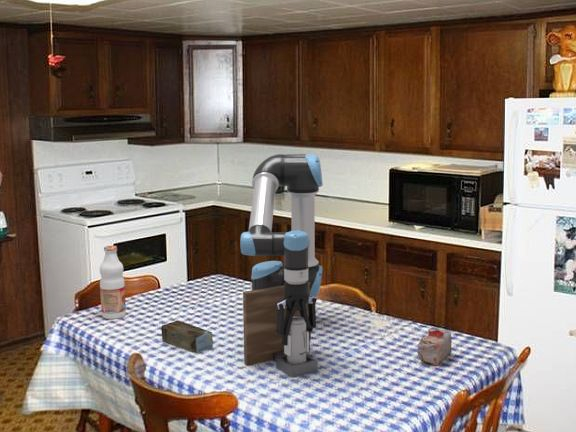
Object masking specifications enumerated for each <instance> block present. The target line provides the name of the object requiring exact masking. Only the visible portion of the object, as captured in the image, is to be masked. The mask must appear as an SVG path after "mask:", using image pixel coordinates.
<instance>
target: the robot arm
mask: <svg viewBox="0 0 576 432" xmlns="http://www.w3.org/2000/svg"><path fill="white" fill-rule="evenodd" d="M320 160H321V159H320V157H319V156H318V155H317V154H308V153H299V154H297V153H294V154H293V153H292V154H289V153H287V154H283V153H282V154H281V153H279V154H274V155H270V156H268V157H267V158H265V159H264V160H263V161H262V162H261V163H260V164H259V165H257V167H256V169H255V171H253V175H252V180H251V181H252V183H251V185H252V187H253V194H252V195H253V196H252V201H251V202H252V203H251V211H250V217H249V225H248V231H244V232H242V233H241V234H240V242H239V243H240V245H239V246H240V253H241V254H242V255H244V256H253V257H255V256H256V257H257V256H260V257H261V256H265V257H266V256H275V257H276V256H279V257H282V256H283V257H284V258H283V259H284V265H283V262H282V261H281V260H270V261H269V260H268V261H262V262H259V263H257V264H255V265H254V266H252V269H251V277H250V278H251V291H252V290H258V289H265V288H271V287H277V286H283V285H284V293H285V298H284V301H282V302H280V303H279V302H277V303H276V307H277V326H276V332H277V333H279V334H280V335H282V344H283V345H284V353H285V354H286V355H288V356H291V335H289V330H290V326H291V322H292V319H293V315H294V314H295V311H298V310H299V311H300V315H301V317H303V318H304V320H305V322H306V353H310V352H309V340H310V341H311V340H312V332H314V329H316V328H317V315H316V310H317V309H316V304H317V298H316V297H317V296H318V295H319V294H320V290H321V285H322V284H321V283H322V277H323V266H322V265H319V263H320V261H319V260H318V259H317V258H316V256H315V254H316V253H315V252H316V250H315V241H316V239H315V236H316V234H315V228H316V226H315V224H316V223H315V222H316V221H315V214H316V213H315V209H316V208H315V205H316V204H315V199H316V198H315V197H316V195H317V194H318V192H319V191H320V189H319V188H321V187H323V184H324V183H323V176H322V175H323V174H322V167H321V162H320ZM279 187H286V188H287V189H286V192H287V193H288V194H289V195H290V197H291V199H290V200H291V201H290V205H291V206H290V207H291V208H290V209H291V214H290V215H291V230H290V231H287V232H285V231H284V232H283V231H282V232H273V231H272V229H273V220H274V219H273V217H274V209H275V208H274V207H275V197H276V192H277V190H278V188H279ZM308 282H309V283H310V297H309V296H308ZM307 302H308V313H309V318H308V314H307V309H306V304H307ZM285 305H286V306H287V308H286V316H285V319H284V313H285V311H284V309H285ZM290 310H291V311H290Z"/></svg>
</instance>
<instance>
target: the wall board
mask: <svg viewBox="0 0 576 432" xmlns="http://www.w3.org/2000/svg"><path fill="white" fill-rule="evenodd" d="M308 296H309V297H310V283H309V282H308ZM284 298H285V293H284V285H283V286H277V287H271V288H265V289H258V290H252V289H251V290H246V291H243V292H242V306H243V310H242V311H243V312H242V313H243V317H242V318H243V360H244V362H243V364H244V365H246V366H251V365H255V364H260V363H264V362H270V361H274V360H273V352H278V351H283V350H284V345H283V344H282V335H280V334H279V333H277V332H276V326H277V307H276V303H277V302H279V303H280V302H282V301H284ZM286 308H287V306H286V305H285V309H284V311H285V313H284V319H285V316H286ZM306 309H307V314H308V318H309V313H308V302H307V304H306ZM290 311H291V310H290ZM293 316H300V317H301V315H300V311H299V310H298V311H295V314H294V315H293ZM310 352H311V340H309V352H308V353H310Z"/></svg>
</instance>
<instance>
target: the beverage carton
mask: <svg viewBox="0 0 576 432" xmlns="http://www.w3.org/2000/svg"><path fill="white" fill-rule="evenodd" d="M160 329H161V338H162V339H161V341H163V342H164V343H166V344H171V345H173V346H176V347H178V348H180V347H181V348H180V349H184V350H186V351H188V352H191V353H195V354H199V353H202V352H204V350H205V351H207V349H208V350H210V349H213V347H214V345H213V344H214V341H213V331H210V330H208V329H207V330H206V329H204V328H201V327H198V326H196V325H193V324H190V323H187V322H185V321H181V320H178V319H177V320H174V321H172V322H168V323H165V324H161V328H160ZM201 351H202V352H201Z"/></svg>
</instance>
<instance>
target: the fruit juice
mask: <svg viewBox="0 0 576 432" xmlns="http://www.w3.org/2000/svg"><path fill="white" fill-rule="evenodd" d="M103 251H104V253H105V254H104V258H103V260H102V262H101V264H100V265H99V274H100V281H99V290H100V291H99V292H100V312H101V317H102V318H103V319H106V320H115V319H121V318H124V317H125V316H126V313H127V310H126V309H127V307H126V305H127V304H126V287H125V285H126V284H125V278H124V275H123V274H124V265H123V263H122V262H121V261H120V260H119V257H118V253H117V251H118V247H117V245H106V246H104V248H103Z"/></svg>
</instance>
